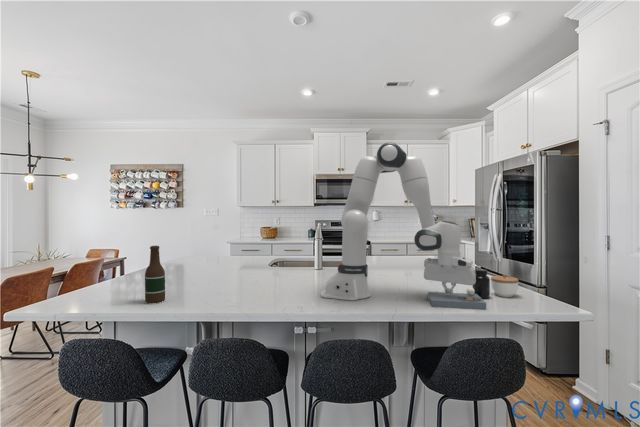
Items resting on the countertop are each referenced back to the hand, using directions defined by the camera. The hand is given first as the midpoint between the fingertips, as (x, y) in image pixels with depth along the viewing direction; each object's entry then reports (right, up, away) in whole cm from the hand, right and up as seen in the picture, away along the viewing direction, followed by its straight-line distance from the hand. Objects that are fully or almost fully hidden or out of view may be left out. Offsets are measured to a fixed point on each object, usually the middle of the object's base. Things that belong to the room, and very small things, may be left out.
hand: (448, 293), depth 134 cm
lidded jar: (+29, -4, +10) cm, 31 cm away
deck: (+2, -4, -1) cm, 5 cm away
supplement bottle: (+17, -4, +8) cm, 19 cm away
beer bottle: (-125, -5, +4) cm, 125 cm away
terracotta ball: (+7, -2, -5) cm, 8 cm away
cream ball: (+10, 0, +2) cm, 10 cm away
